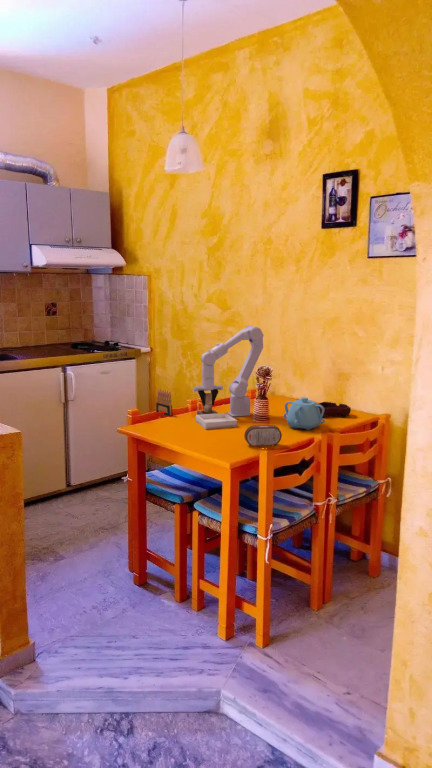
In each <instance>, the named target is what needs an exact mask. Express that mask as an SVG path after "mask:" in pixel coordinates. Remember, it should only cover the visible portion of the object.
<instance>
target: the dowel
mask: <svg viewBox="0 0 432 768" xmlns="http://www.w3.org/2000/svg"><path fill="white" fill-rule="evenodd" d="M212 410H213V405H212V393H211V392H207V393H206V392H205V406H203V411H204V413H212Z"/></svg>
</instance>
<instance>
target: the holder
mask: <svg viewBox="0 0 432 768" xmlns="http://www.w3.org/2000/svg"><path fill="white" fill-rule="evenodd" d="M217 413H218V412H217V411H216V410H215V409H212V413H204V410H197V411H196V415H204V414H217Z"/></svg>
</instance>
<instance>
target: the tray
mask: <svg viewBox="0 0 432 768" xmlns="http://www.w3.org/2000/svg"><path fill="white" fill-rule="evenodd" d="M195 422H196V423H197V424H199V426H201V427H202V428H203V429H204V430H212V429H216V430H217V429H226V428H237V427H238V420H237V419H236V418H234V417H233V416H231V415H229V414H228V413H227V412H220V413H219V412H217V414H204V415H197V414H196V415H195Z"/></svg>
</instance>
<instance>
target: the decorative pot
mask: <svg viewBox="0 0 432 768" xmlns="http://www.w3.org/2000/svg"><path fill="white" fill-rule="evenodd" d="M289 404H291V405H290V406H289V409H288V405H289ZM319 407H320V408H321V409H322V413H321V414H320V410H319ZM284 411H285V413H284V414H283V419H285V420H286V423H287V425H288V426H289V427H291V429H303V430H305V431H311V430H312V429H315V428H317V427H318V426H319V425H320V424H321V425H322V424H325V422H326V419H325V418H324V417H322V416H323V414H324V407H323V406H322V405H319V403H317V402H316V401H315V400H311V399H309V397H305V396H303V397H300V399H296V400H294V401H291V400H289V401H286V402H285V403H284Z"/></svg>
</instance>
